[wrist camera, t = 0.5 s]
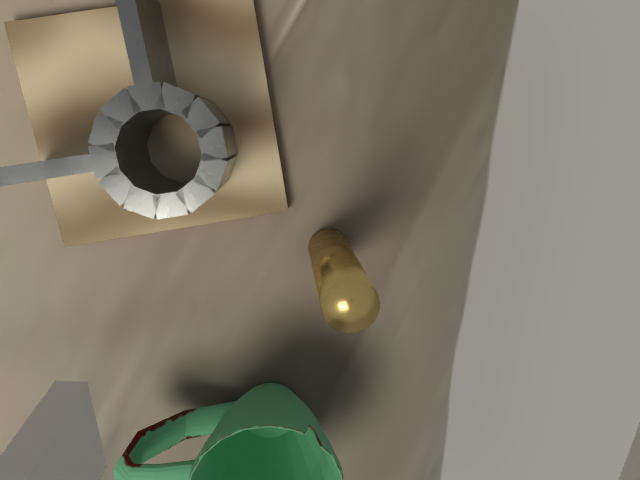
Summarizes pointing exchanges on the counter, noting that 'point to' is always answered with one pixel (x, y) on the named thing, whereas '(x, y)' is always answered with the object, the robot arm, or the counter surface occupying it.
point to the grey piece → (145, 130)
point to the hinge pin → (342, 283)
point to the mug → (238, 442)
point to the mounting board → (171, 131)
